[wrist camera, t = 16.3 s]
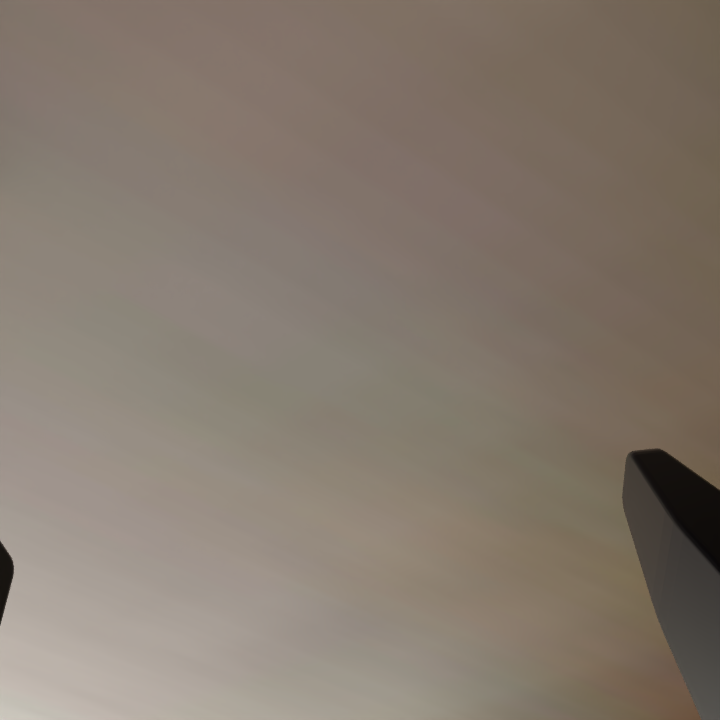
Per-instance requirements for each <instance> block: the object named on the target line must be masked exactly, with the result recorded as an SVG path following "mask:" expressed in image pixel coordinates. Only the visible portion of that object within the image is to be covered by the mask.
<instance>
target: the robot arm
mask: <svg viewBox="0 0 720 720" xmlns="http://www.w3.org/2000/svg"><path fill="white" fill-rule="evenodd" d="M622 498H623V507H624V512H625V515H626V518H627V522H628V525H629V528H630V531H631V535H632V538H633V541H634V544H635V548H636V551H637V554H638V557H639V561H640V564H641V567H642V570H643V574H644V577H645V580H646V583H647V587H648V590H649V593H650V596H651V600H652V603H653V606H654V609H655V612H656V615H657V618H658V620H659V623H660V625H661V628H662V630H663V633H664V635H665V638H666V640H667V642H668V644H669V647H670V649H671V651H672V654H673V656H674V658H675V660H676V663H677V665H678V667H679V670H680V672H681V674H682V676H683V679H684V681H685V683H686V686H687V688H688V690H689V692H690V695H691V697H692V699H693V701H694V704H695V706H696V708H697V711H698V713H699V715H700V717H701V720H720V490H719V489H717V488H716V487H715V486H713V485H712V484H710V483H709V482H708V481H706V480H705V479H703V478H702V477H701V476H699V475H698V474H696V473H695V472H693V471H692V470H691V469H689V468H688V467H686V466H685V465H684V464H682V463H681V462H679V461H678V460H677V459H675V458H674V457H672V456H671V455H670V454H668V453H667V452H665V451H663V450H661V449H647V450H638V451H632V452H630V453H629V454H628V456H627V458H626V464H625V474H624V484H623V495H622ZM13 574H14V565H13V561H12V558H11V556H10V555H9V553H8V552H7V550H6V549H5V547H4V546H3V544H2V543H1V541H0V624H1V621H2V617H3V613H4V609H5V605H6V602H7V598H8V594H9V590H10V586H11V583H12V579H13Z"/></svg>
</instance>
